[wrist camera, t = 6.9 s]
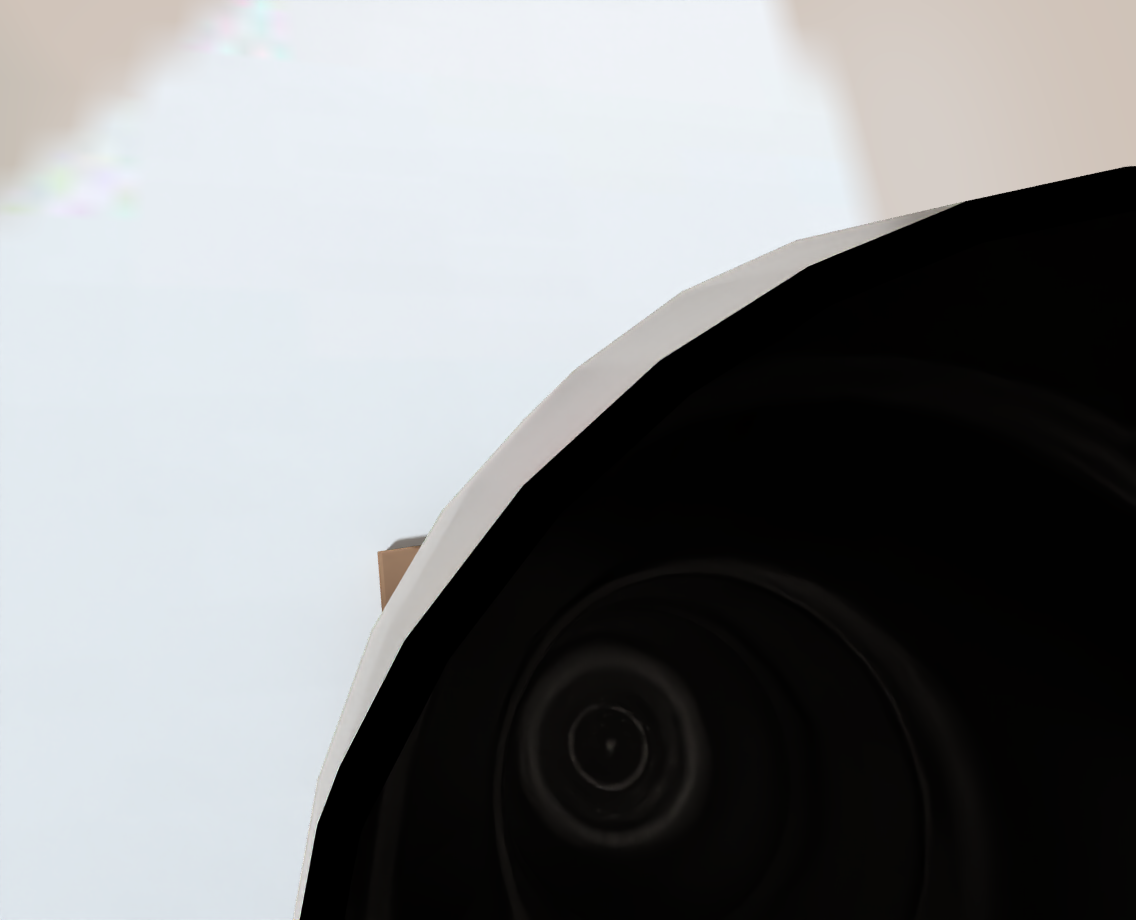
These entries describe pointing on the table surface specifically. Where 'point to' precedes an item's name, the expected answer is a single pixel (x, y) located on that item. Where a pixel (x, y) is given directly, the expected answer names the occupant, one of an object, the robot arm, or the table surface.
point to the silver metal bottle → (783, 605)
